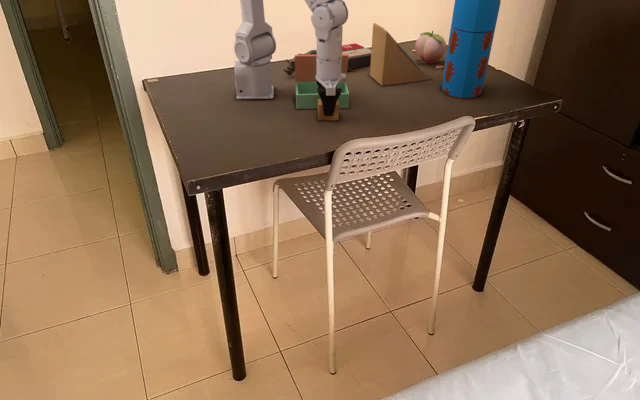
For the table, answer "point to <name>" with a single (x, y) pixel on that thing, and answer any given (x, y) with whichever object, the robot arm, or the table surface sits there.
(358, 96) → the table surface
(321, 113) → the block
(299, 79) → the lid
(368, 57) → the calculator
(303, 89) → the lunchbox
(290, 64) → the rhino figurine
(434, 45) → the decorative fruit
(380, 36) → the sandwich container
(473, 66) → the thermos
